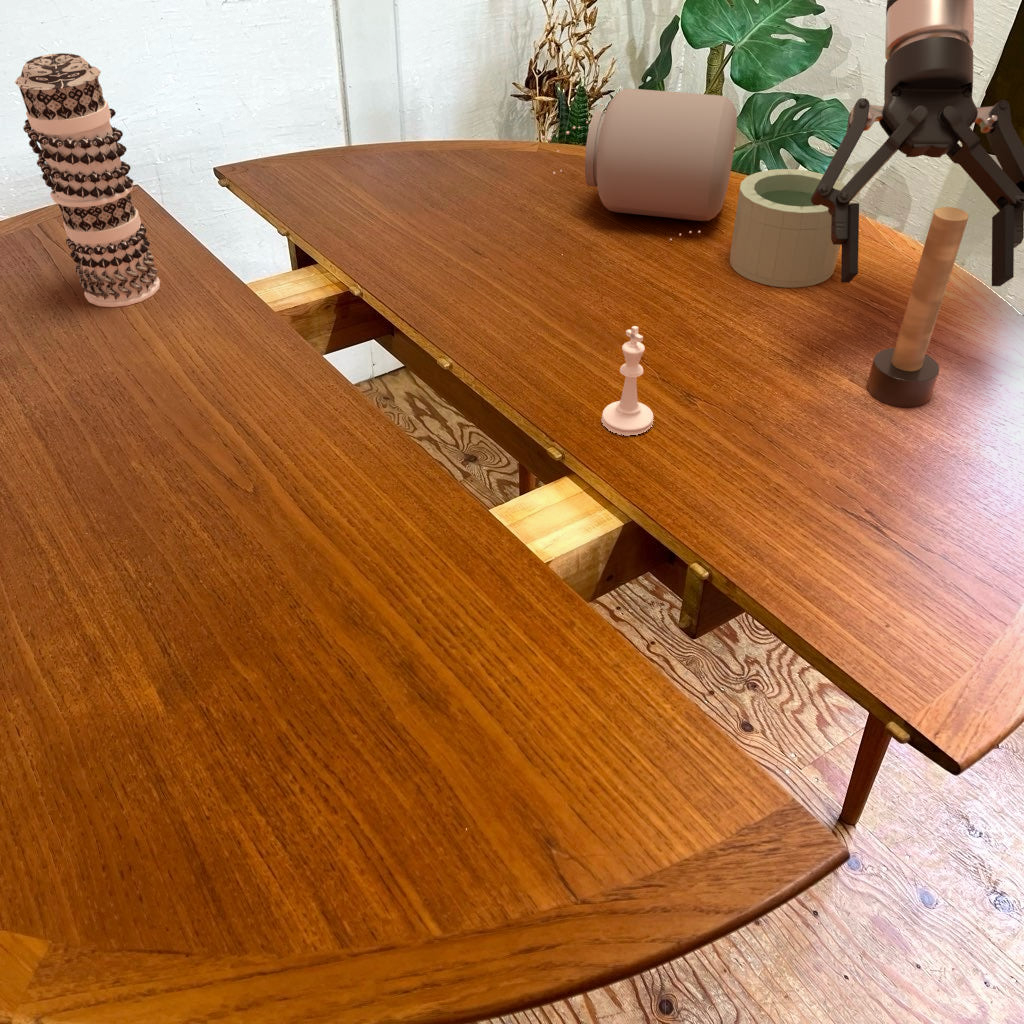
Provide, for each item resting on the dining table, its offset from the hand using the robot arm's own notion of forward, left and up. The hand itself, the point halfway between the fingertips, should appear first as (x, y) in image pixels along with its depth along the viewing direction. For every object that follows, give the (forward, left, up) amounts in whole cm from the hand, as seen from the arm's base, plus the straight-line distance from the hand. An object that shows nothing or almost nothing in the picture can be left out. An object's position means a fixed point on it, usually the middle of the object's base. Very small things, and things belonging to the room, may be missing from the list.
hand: (925, 280), depth 87 cm
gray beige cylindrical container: (+12, -24, -11) cm, 29 cm away
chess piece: (+25, +12, -11) cm, 30 cm away
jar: (+32, -34, -11) cm, 48 cm away
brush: (0, +1, -11) cm, 11 cm away
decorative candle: (+86, -1, -11) cm, 86 cm away
